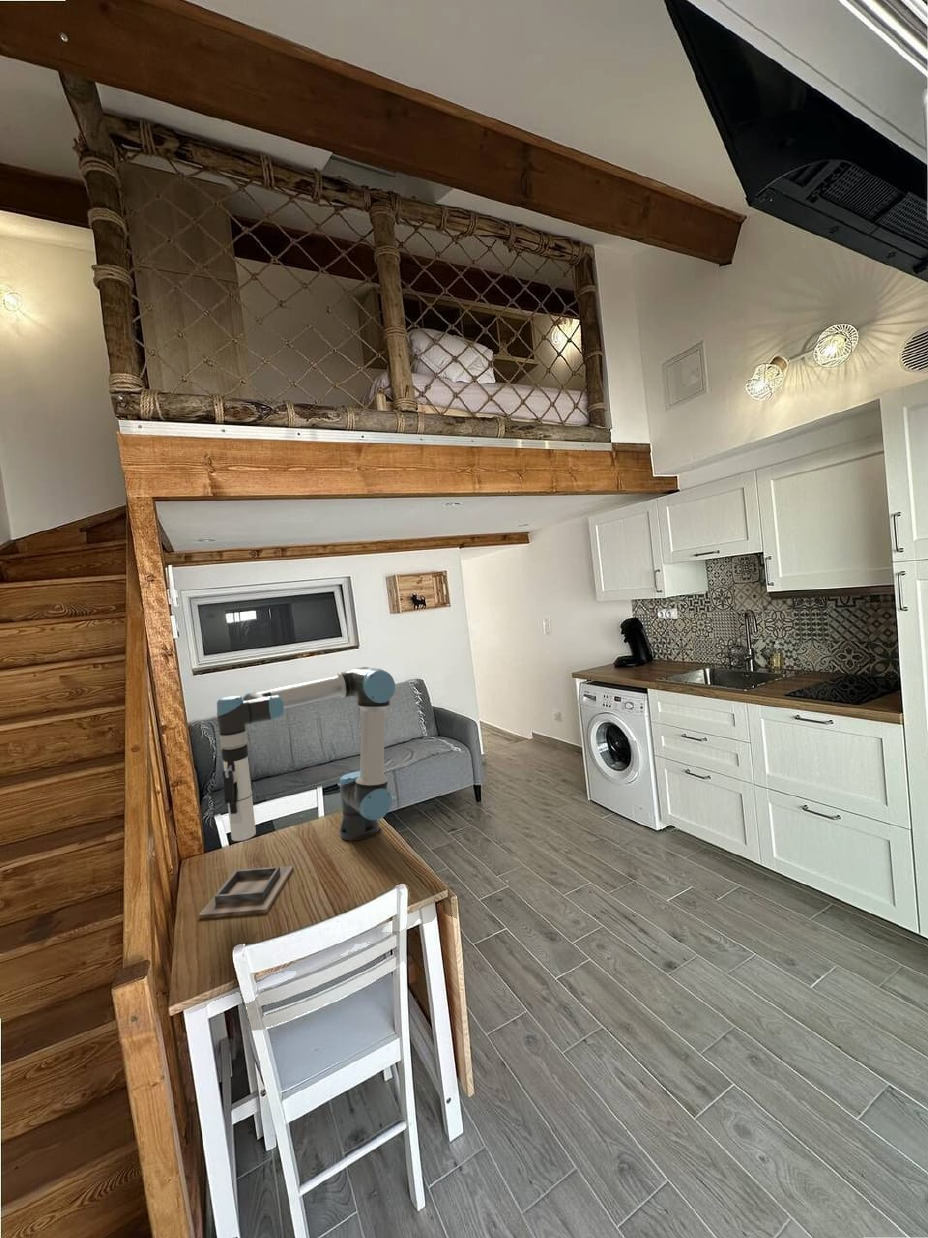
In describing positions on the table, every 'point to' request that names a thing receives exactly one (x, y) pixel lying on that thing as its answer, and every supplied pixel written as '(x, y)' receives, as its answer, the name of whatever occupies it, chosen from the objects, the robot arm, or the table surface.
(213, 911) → the board
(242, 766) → the cylindrical container
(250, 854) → the table surface
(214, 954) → the table surface
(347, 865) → the table surface
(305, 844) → the table surface
